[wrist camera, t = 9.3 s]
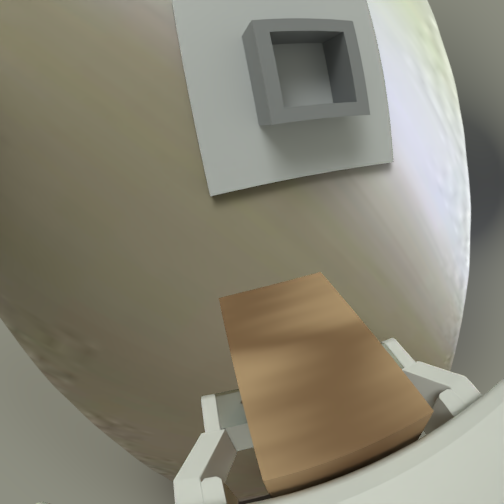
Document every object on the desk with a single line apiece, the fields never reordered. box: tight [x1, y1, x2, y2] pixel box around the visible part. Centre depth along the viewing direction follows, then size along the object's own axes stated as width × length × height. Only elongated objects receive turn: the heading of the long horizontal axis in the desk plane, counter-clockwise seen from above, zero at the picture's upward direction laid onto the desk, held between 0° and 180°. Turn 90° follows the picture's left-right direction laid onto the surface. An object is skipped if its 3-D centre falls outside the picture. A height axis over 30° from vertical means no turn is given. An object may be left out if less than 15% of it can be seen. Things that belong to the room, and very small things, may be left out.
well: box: [172, 0, 393, 196], centre depth 22 cm, size 20×20×6 cm
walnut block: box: [219, 272, 434, 498], centre depth 10 cm, size 4×4×8 cm
